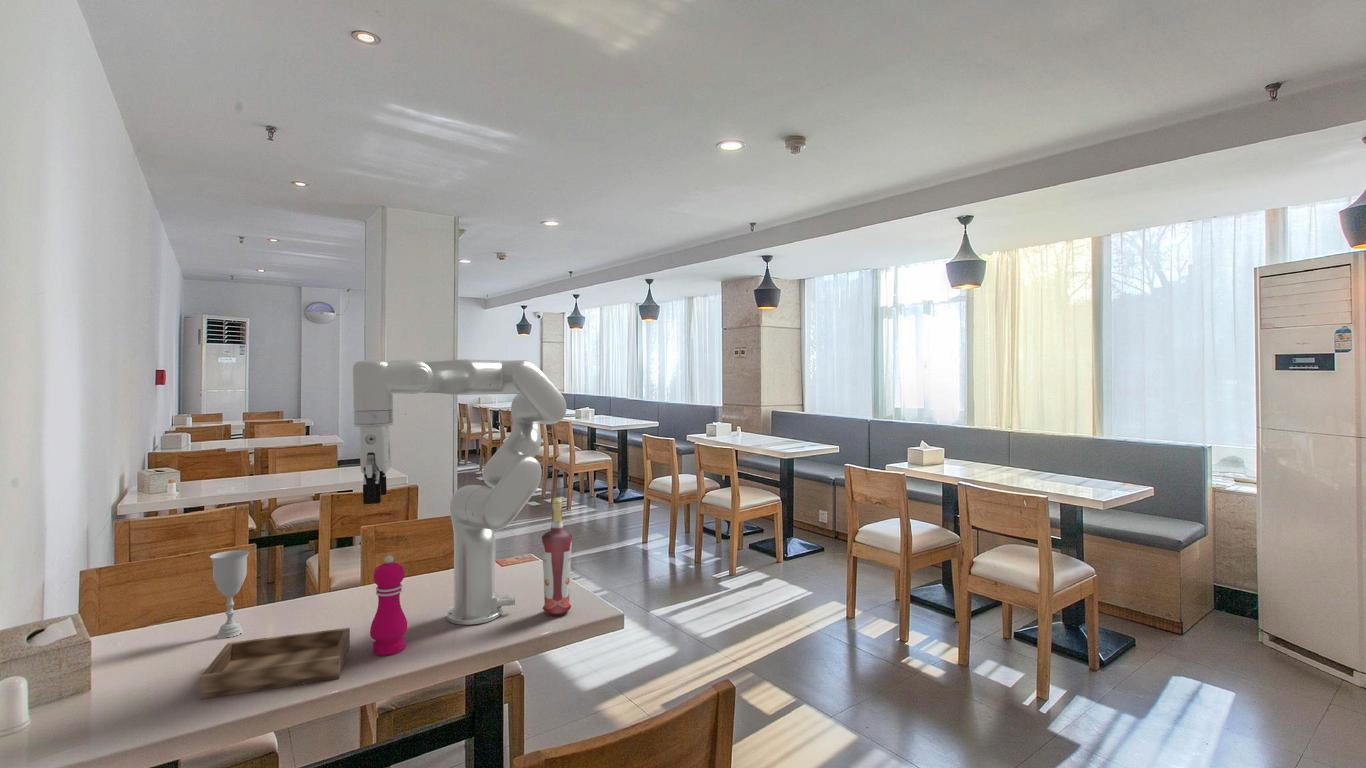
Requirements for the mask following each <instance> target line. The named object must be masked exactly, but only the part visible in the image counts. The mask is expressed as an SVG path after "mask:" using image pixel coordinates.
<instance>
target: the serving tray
mask: <svg viewBox="0 0 1366 768" xmlns="http://www.w3.org/2000/svg"><path fill="white" fill-rule="evenodd" d="M350 638H351V627H343V628H336V629H328V630H327V629H326V630H320V631H312V632H304V633H303V632H302V633H297V634H295V633H294V634H289V635H288V634H287V635H279V636H272V637H271V636H270V637H263V638H255V639H254V638H253V639H247V640H239V641H230V642H229V641H228V642H227V643H226V644H225V646H224V647H223V648H222V649H221V650H220V651H219V653H218V654H217V655H216V657H215V658H214V659H213V661H212V662H211V663H210V664H209V665H208V667H207V668H205V670H204V672H203V673H202V674H201V675H200V677H199V699H200V700H204V699H211V698H213V699H214V698H218V697H226V696H232V695H237V694H239V695H240V694H245V693H251V692H259V691H265V690H271V689H279V688H286V687H293V686H297V684H300V685H304V684H303V683H307V684H313V683H319V682H326V681H334V680H340V676H341V674H342V671H343V668H344V664H345V661H346V659H347V656H348V653H349V650H350V647H351V639H350ZM333 679H334V680H333ZM292 685H293V686H292Z"/></svg>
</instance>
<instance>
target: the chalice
mask: <svg viewBox="0 0 1366 768" xmlns="http://www.w3.org/2000/svg"><path fill="white" fill-rule="evenodd" d="M249 554H250V550H245V549H236V550H227V551H226V550H225V551H221V552H218V553H217V552H216V553H214V554H211V555H210V556H209V558H210V559H211V561H212V579H213V582H214V583H215V586H216V588H217V589H218V591H219V592H220V594H221V595H222V596H225V597H226V599H227V600H226V604H225V606H226V608H227V610H226V612H225V613H224V614H225V615H226V618H227V619H226V621H225V622H224V623H223V624H222V625H221V626H220V627H219V630H218V632H217V634H216V636H218V637H219V638H218V639H220V638H224V639H227V638H226V637H231V638H233V637H232V636H235V637H237V636H236V635H238V636H240V635H239V634H240V633H242V632H243V631H244V629H243V627H242V626H241V624H240V623H239V622H238V621H235V619H234V614H235V613H236V611H235V609H234V605H235V602H234V600H233V599H234V596H235V595H236V594H238V593H239V591H240V589H241V588H242V586H243V584H244V582H245V580H246V577H247V574H248V570H247V569H248V564H247V563H248V562H247V561H248V560H247V559H248V556H249ZM243 633H244V632H243ZM243 633H242V634H243Z"/></svg>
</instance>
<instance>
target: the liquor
mask: <svg viewBox="0 0 1366 768" xmlns="http://www.w3.org/2000/svg"><path fill="white" fill-rule="evenodd" d="M562 509H563V498H562V497H561V498H560V497H555V498H554V497H553V498H551V510H552V515H551V525H550V530H548V531H547V532H545V533H544V534H543V535H542V536H541V549H542V551H541V552H542V568H543V569H542V570H543V590H544V591H543V593H544V605H543V606H542V610H543V611H544V612H545V613H546V614H547V615H549V616H551V617H559V616H563V615H565V614H567V612H569V610H570V609H571V608H572V605H571V603H570V592H571V591H570V589H571V568H572V567H571V566H572V565H571V564H572V545H573V544H572V543H573V542H572V541H573V534H571V533H570V532H569V531H567V530H565V529H564V525H563V514H562V511H563V510H562Z"/></svg>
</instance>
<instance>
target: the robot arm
mask: <svg viewBox="0 0 1366 768" xmlns="http://www.w3.org/2000/svg"><path fill="white" fill-rule="evenodd" d="M352 388H353V390H352V391H353V396H352V397H353V398H352V399H353V426H354V428H359V458H360V459H359V461H360V462H359V463H360V472H361V474H363V483H362V499H363V504H364V505H375V504H376V505H377V504H380V503H381V501H382V498H381V497H382V496H384V495H385V496H386V495H387V493H388V492H387V476H386V474H387V472H388V471H389V470H390V469H391V468H392V455H391V439H390V427H389V426H393V425H394V398H393V396H394V395H393V394H401V395H402V394H405V395H415V394H416V395H417V394H421V393H422V394H443V395H450V396H452V395H453V396H457V395H458V396H470V395H471V396H472V395H473V396H474V395H515V396H514V398H513V399H512V401H511V404H510V405H511V406H510V413H511V418H512V428H511V431H510V434H509V435H508V436H507V438H506V440H505V441H504V442H503V443H502V444H501V445H500V447H499V448H498V449H497V450H496V452H495V453H494V454H493V455H492V456H491V457H490V459H489V460H488V461H487V463H485V465H484V468H483V469H482V475H481V476H482V479H483V482H484V483H485V484H486V485H487V486H485V485H478V484H468V485H465V486H462V487H461V488H459V489H457V490H456V491H455V492H454V494H453V496H452V497H451V501H450V503H449V511H450V512H449V513H450V518H451V519H450V520H451V524H452V530H453V531H452V532H453V608H451V609H450V610H449V611H447V613H446V617H447V618H446V619H447V620H448V622H450V623H452V624H455V625H463V626H464V625H465V626H466V625H467V626H469V625H470V626H471V625H472V626H473V625H478V624H479V625H480V624H485V623H488V622H491V621H493V620H495V619H497V618H499V617H500V616H501V615H502V612H503V607H504V606H515V605H516V598H515V596H511V597H509V595H503V596H499V595H497V592H496V591H497V590H496V537H495V532H494V531H499V530H502V529H504V528H506V527H508V526H509V525H510V524H511V523H512V522H513V521H514V520H515V519H516V518H517V516H518V515H519V513H520V512H521V511H522V510H523V508H524V507H525V505H526V504H527V503H528V502H529V500H530V499H531V498H532V496H533V495H534V494H535V492H536V491H537V490H538V487H539V486H540V483H541V480H542V476H543V475H542V474H543V473H542V472H543V471H542V466H541V464H540V461H538V460H537V459H536V458H535V457H536V455H537V454H538V453H539V451H540V448H541V447H542V446H541V445H542V432H541V424H542V425H543V424H544V425H553V424H558V423H559V422H561V421H562V420H563V419H564V417H565V415H566V413H567V401H566V400H565V398H564V395H563V394H562V392H561V391H560V390H559V389H558V388H557V387H556V386H555V385H554V384H553V382H552V381H551V380H550V378H549V377H548V376H547V375H546V374H545V373H544V372H543V371H542V370H541V369H540V367H538V366H536V364H535V363H532V362H531V361H529V360H521V359H520V360H496V359H494V360H493V359H492V360H490V359H488V360H487V359H470V358H469V359H467V358H465V359H463V358H462V359H461V358H460V359H449V360H448V359H447V360H438V361H437V360H435V361H421V360H417V359H395V360H388V361H386V360H359V361H356V362H355V363H354V364H353V366H352Z"/></svg>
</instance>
